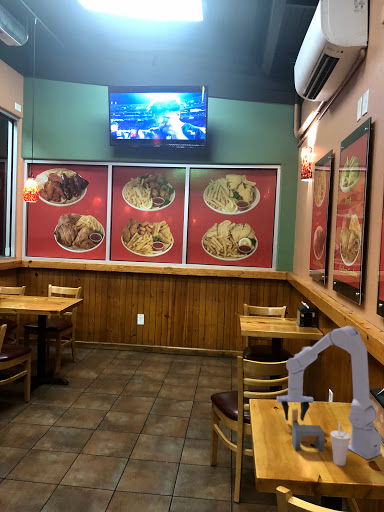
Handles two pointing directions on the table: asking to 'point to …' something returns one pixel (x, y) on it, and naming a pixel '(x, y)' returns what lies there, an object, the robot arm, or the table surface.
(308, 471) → the table surface
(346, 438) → the smoothie
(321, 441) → the housing
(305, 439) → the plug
